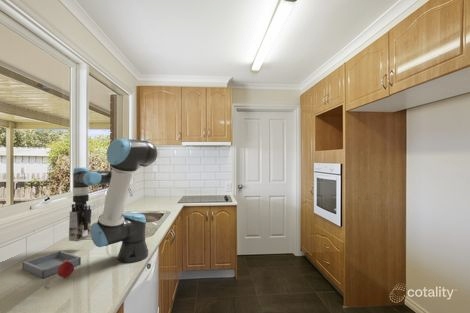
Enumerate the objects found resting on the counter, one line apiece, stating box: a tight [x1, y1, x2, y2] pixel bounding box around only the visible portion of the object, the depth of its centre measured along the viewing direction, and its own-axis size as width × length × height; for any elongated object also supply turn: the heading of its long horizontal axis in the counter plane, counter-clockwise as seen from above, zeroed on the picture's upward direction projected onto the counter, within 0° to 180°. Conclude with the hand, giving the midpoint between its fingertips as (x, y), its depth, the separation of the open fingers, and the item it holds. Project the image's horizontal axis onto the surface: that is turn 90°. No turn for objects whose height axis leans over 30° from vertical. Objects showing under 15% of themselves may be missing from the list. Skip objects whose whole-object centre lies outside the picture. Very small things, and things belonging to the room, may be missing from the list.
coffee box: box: [68, 208, 92, 243], centre depth 134 cm, size 9×6×16 cm
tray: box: [22, 250, 82, 280], centre depth 114 cm, size 18×16×4 cm
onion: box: [57, 260, 75, 279], centre depth 104 cm, size 6×6×8 cm
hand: (80, 234), depth 134 cm, fingers closed on coffee box, 7 cm apart
